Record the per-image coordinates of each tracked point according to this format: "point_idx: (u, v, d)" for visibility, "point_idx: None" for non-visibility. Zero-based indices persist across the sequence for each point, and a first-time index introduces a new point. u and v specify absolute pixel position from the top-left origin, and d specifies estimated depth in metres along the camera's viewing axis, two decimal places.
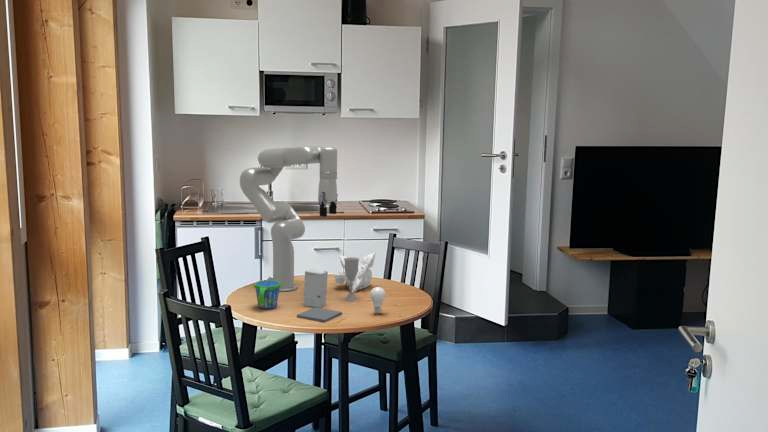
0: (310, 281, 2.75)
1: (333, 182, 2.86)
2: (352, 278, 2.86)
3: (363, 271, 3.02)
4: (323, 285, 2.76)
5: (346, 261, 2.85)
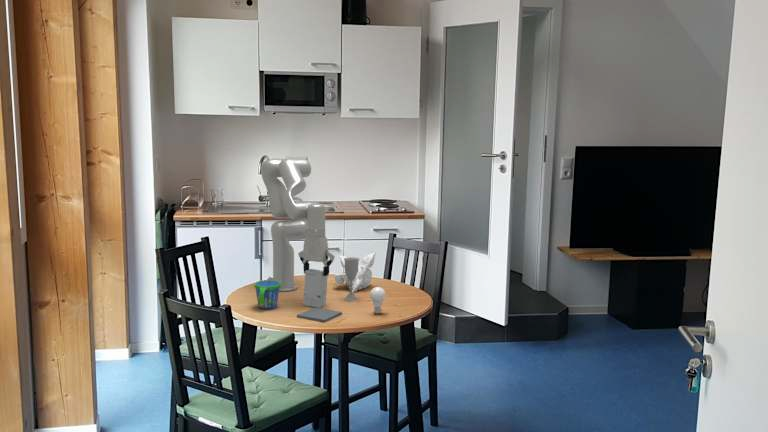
0: (311, 281, 2.75)
1: None
2: (352, 278, 2.86)
3: (363, 271, 3.02)
4: (324, 285, 2.76)
5: (346, 261, 2.85)
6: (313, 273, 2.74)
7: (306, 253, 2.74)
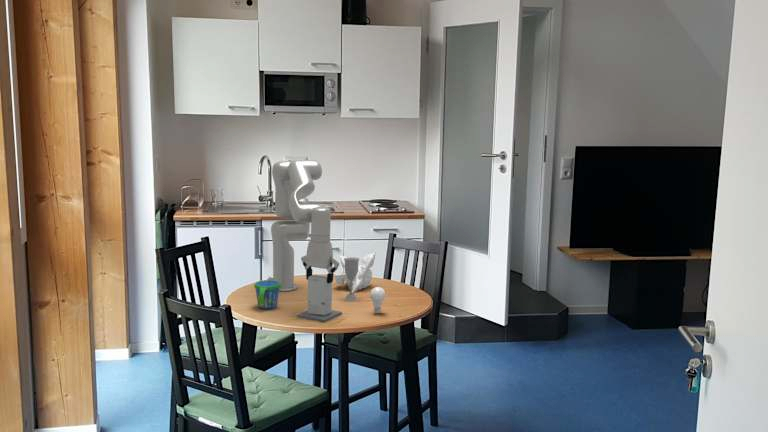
0: (314, 288, 2.60)
1: None
2: (352, 278, 2.86)
3: (363, 271, 3.02)
4: (328, 291, 2.61)
5: (346, 261, 2.85)
6: (316, 279, 2.59)
7: (309, 259, 2.60)
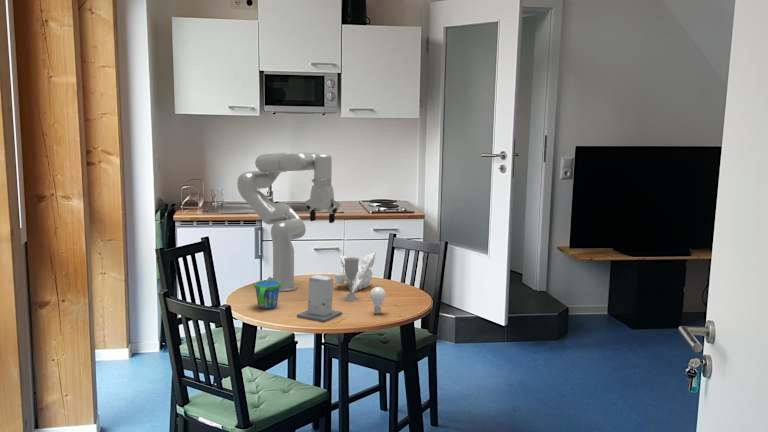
0: (315, 288, 2.60)
1: None
2: (352, 278, 2.86)
3: (363, 271, 3.02)
4: (329, 292, 2.60)
5: (346, 261, 2.85)
6: (317, 279, 2.59)
7: (313, 201, 2.87)
